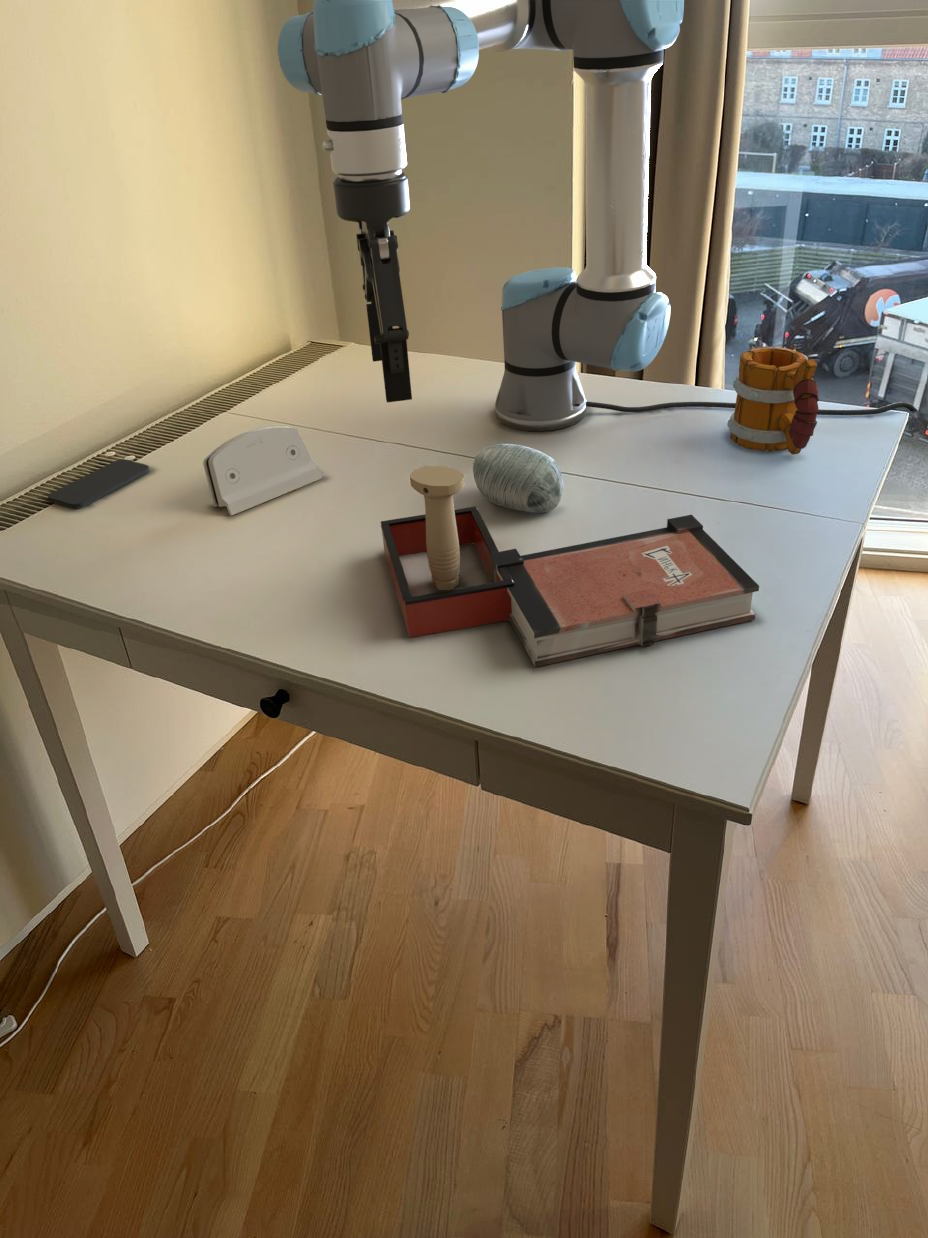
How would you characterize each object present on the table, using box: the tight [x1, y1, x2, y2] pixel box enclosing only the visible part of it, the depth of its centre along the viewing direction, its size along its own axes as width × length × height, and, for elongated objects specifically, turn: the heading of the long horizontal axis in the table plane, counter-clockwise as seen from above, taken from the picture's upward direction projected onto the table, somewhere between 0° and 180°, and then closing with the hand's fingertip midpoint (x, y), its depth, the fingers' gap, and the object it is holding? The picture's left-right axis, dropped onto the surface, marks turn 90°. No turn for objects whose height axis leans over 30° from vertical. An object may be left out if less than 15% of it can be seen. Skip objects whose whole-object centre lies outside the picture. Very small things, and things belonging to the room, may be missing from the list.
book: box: [490, 514, 760, 668], centre depth 111 cm, size 26×18×5 cm
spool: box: [472, 443, 564, 514], centre depth 133 cm, size 14×10×10 cm
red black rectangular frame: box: [380, 505, 514, 638], centre depth 117 cm, size 13×20×5 cm, turn 12°
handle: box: [409, 465, 465, 592], centre depth 114 cm, size 5×6×15 cm
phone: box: [47, 458, 151, 509], centre depth 149 cm, size 7×1×15 cm
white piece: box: [202, 425, 323, 516], centre depth 142 cm, size 17×5×10 cm, turn 132°
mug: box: [726, 346, 820, 455], centre depth 142 cm, size 11×16×15 cm, turn 18°
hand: (391, 378), depth 108 cm, fingers open, 13 cm apart
